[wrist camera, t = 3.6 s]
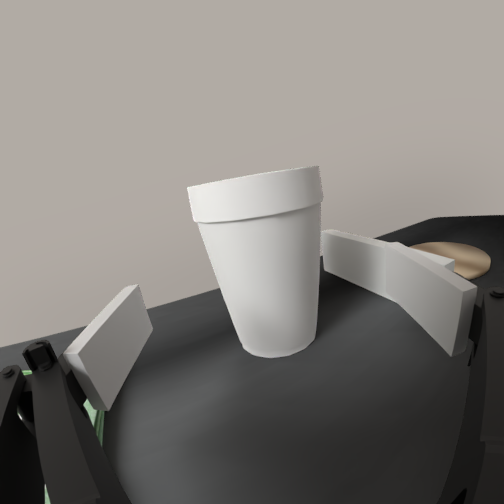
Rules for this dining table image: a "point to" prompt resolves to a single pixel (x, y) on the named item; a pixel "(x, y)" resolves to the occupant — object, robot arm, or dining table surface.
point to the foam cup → (265, 254)
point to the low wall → (363, 259)
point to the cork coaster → (460, 257)
